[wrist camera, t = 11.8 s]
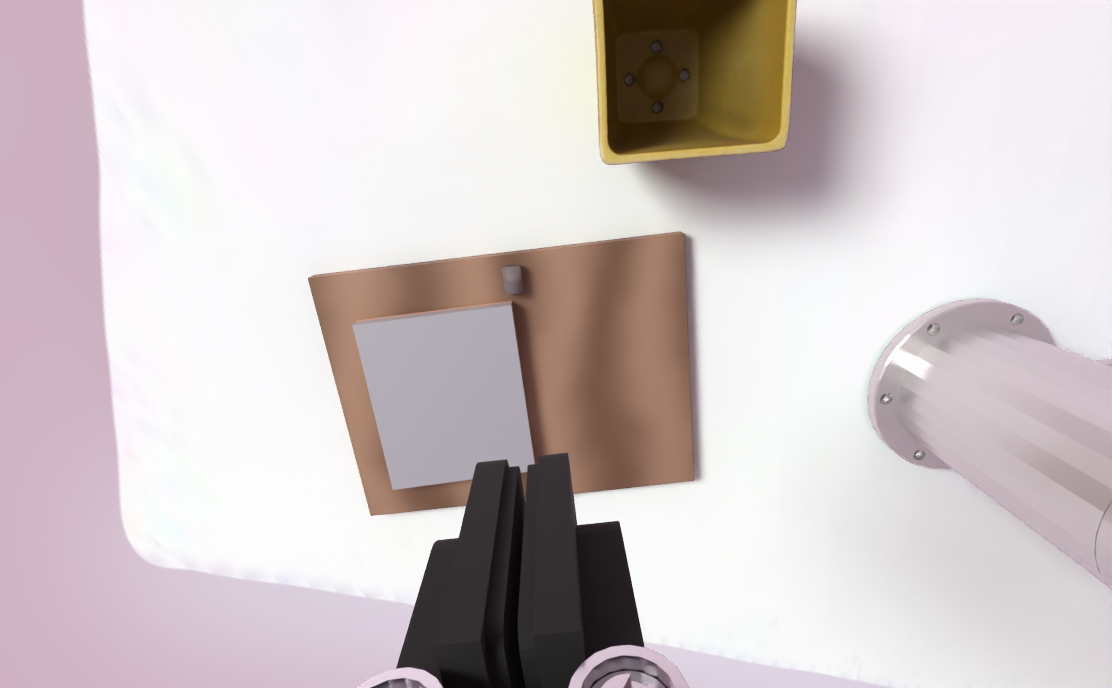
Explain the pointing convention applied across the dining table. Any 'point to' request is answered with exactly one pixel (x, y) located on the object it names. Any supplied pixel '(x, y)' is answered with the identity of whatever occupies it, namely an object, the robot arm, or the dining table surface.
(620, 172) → the dining table surface
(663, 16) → the flower pot
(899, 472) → the dining table surface
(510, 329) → the tile
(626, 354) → the hinge board
